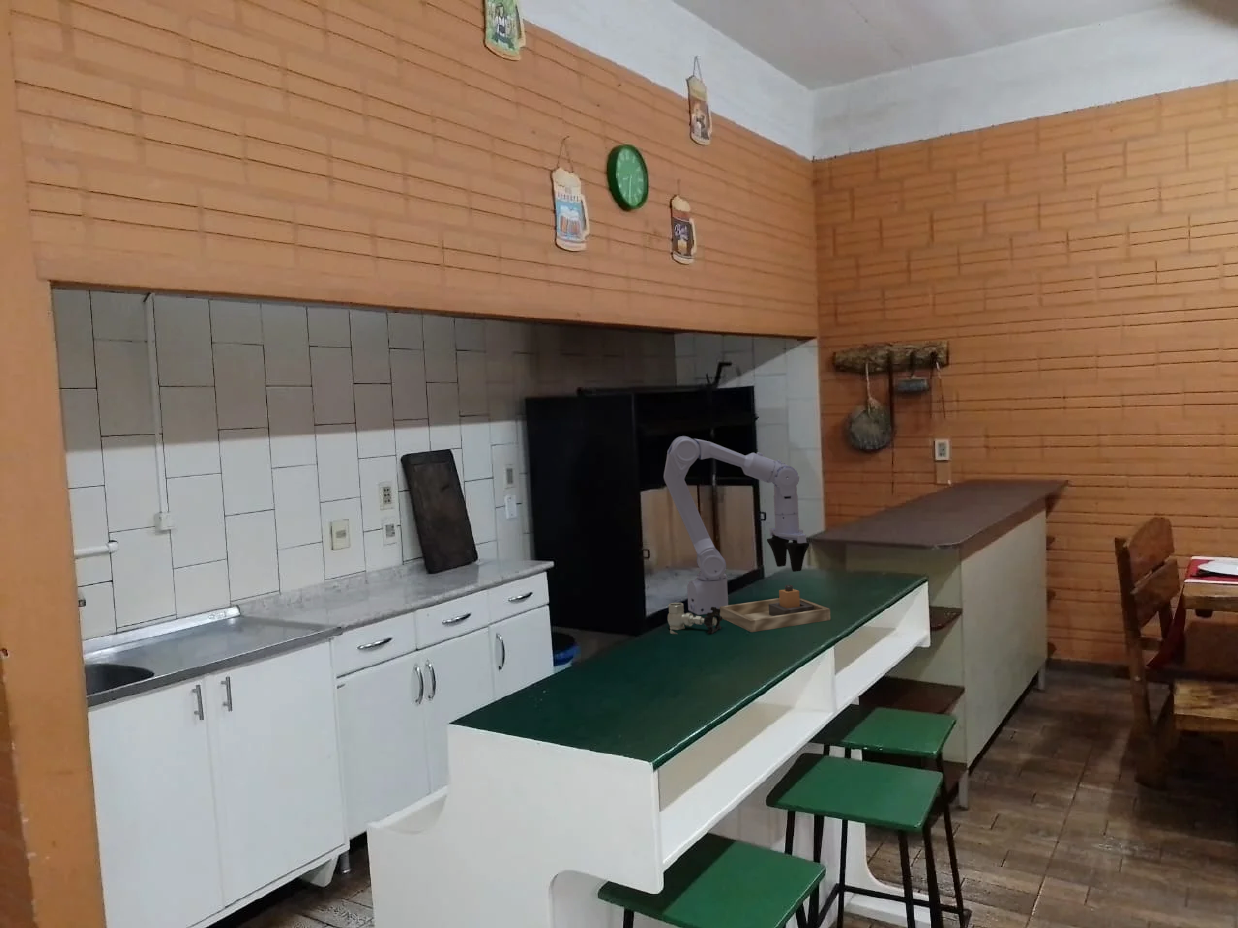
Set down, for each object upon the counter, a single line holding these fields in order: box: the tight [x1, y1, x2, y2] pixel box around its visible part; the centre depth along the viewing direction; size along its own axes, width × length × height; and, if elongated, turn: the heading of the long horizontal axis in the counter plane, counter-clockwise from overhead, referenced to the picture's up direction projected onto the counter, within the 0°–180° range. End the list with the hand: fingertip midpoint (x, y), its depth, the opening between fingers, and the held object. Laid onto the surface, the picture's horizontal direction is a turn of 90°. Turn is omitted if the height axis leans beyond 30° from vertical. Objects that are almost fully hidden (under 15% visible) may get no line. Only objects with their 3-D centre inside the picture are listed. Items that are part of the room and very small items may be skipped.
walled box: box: [719, 597, 831, 633], centre depth 215 cm, size 20×16×4 cm
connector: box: [778, 584, 801, 608], centre depth 216 cm, size 3×3×7 cm
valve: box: [667, 602, 723, 635], centre depth 210 cm, size 7×7×12 cm
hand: (789, 568), depth 227 cm, fingers open, 7 cm apart
